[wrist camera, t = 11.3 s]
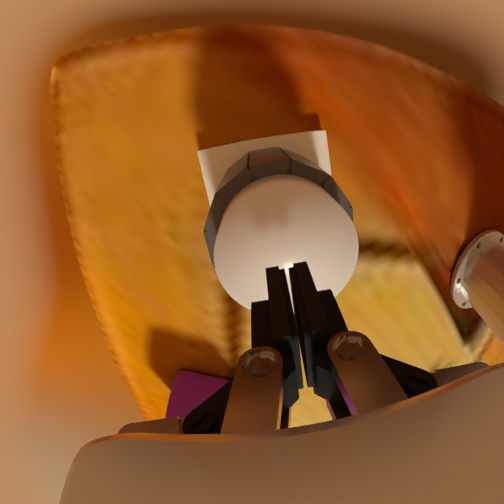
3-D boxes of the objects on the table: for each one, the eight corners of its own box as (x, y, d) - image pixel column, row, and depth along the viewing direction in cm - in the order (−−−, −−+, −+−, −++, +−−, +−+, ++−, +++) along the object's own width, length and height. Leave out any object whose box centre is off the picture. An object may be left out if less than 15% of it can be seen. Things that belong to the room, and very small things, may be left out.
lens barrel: (321, 129, 22) (360, 135, 14) (332, 239, 27) (364, 293, 19) (200, 149, 23) (171, 166, 15) (226, 256, 28) (216, 317, 20)
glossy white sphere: (321, 157, 18) (355, 176, 12) (329, 251, 22) (357, 304, 15) (215, 174, 19) (197, 202, 13) (237, 266, 22) (231, 324, 16)
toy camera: (253, 409, 42) (253, 459, 33) (174, 400, 41) (164, 449, 32) (262, 373, 37) (264, 433, 28) (167, 363, 36) (152, 420, 27)
